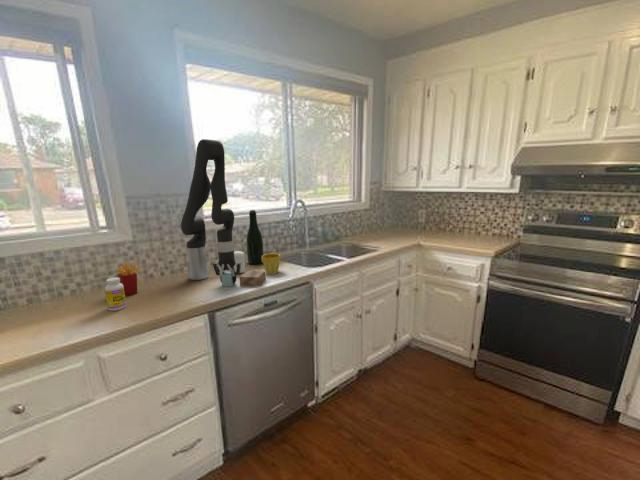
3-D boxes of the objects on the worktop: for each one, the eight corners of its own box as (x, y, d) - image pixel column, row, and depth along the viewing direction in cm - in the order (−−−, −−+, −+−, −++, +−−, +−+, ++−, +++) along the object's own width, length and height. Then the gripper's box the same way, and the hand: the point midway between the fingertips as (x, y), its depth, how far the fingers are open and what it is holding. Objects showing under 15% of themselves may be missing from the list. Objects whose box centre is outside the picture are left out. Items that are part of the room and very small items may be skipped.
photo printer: (244, 270, 186) (242, 249, 183) (246, 272, 182) (245, 251, 180) (226, 273, 180) (224, 252, 178) (228, 275, 177) (226, 253, 174)
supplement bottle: (113, 312, 132) (108, 282, 130) (105, 309, 136) (100, 280, 133) (129, 306, 138) (125, 277, 135) (121, 303, 141) (117, 275, 139)
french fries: (124, 297, 149) (119, 266, 146) (118, 293, 154) (113, 263, 151) (144, 292, 155) (140, 261, 152) (138, 288, 161) (134, 259, 158)
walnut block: (240, 286, 160) (239, 276, 159) (247, 280, 170) (246, 270, 168) (259, 287, 158) (258, 277, 157) (265, 280, 168) (265, 271, 167)
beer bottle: (244, 264, 199) (240, 211, 193) (252, 260, 209) (249, 209, 202) (259, 265, 196) (256, 211, 189) (267, 260, 206) (264, 209, 199)
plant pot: (279, 275, 175) (278, 257, 173) (260, 275, 176) (259, 258, 174) (282, 269, 186) (281, 253, 184) (264, 270, 186) (263, 253, 184)
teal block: (222, 286, 159) (221, 274, 158) (225, 282, 164) (224, 271, 163) (231, 286, 159) (231, 274, 158) (235, 282, 164) (234, 271, 163)
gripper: (208, 251, 155) (211, 285, 158) (237, 251, 154) (240, 285, 157) (214, 248, 162) (217, 280, 166) (242, 248, 161) (245, 280, 164)
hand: (228, 282), depth 161 cm, fingers closed on teal block, 5 cm apart
